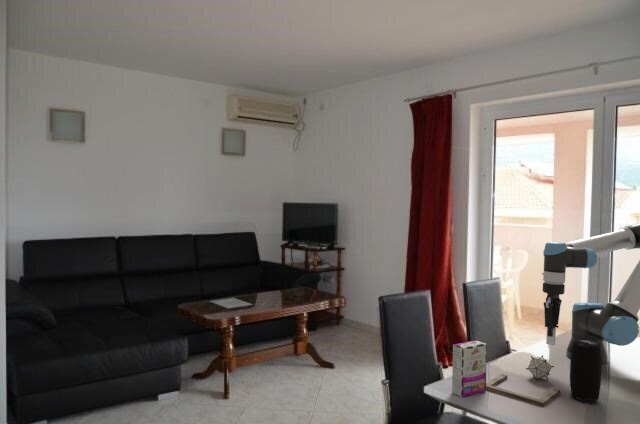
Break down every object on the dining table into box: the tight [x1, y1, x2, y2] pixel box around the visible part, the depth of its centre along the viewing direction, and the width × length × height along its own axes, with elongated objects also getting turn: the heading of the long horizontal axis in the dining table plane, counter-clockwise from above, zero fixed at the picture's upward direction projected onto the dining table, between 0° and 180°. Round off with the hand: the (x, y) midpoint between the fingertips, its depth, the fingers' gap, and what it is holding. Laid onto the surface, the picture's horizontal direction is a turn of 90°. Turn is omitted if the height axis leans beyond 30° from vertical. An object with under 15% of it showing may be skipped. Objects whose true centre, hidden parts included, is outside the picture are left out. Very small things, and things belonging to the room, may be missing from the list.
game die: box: [525, 354, 555, 381], centre depth 175 cm, size 9×8×10 cm
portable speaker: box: [569, 337, 603, 405], centre depth 157 cm, size 9×9×20 cm
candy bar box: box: [451, 339, 488, 399], centre depth 160 cm, size 11×5×16 cm, turn 119°
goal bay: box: [486, 373, 561, 407], centre depth 163 cm, size 16×20×1 cm
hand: (550, 344), depth 184 cm, fingers closed
